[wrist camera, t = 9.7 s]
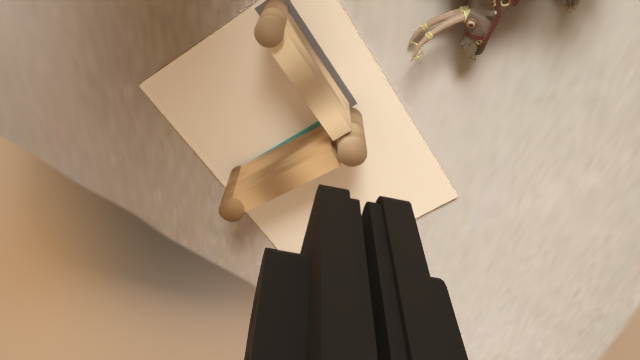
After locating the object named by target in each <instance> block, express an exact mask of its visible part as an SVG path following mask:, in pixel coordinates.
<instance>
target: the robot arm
mask: <svg viewBox="0 0 640 360" xmlns="http://www.w3.org/2000/svg"><path fill="white" fill-rule="evenodd" d="M244 360H468V358H467V354H466V351H465V347H464V344H463V341H462V337H461V334H460V330H459V327H458V324H457V320H456V317H455V314H454V310H453V307H452V303H451V300H450V297H449V293H448V290H447V287H446V285H445V283H444V281H443V280H441V279H440V278H434V277H430V274H429V270H428V266H427V262H426V258H425V255H424V251H423V247H422V243H421V239H420V236H419V232H418V228H417V224H416V220H415V217H414V213H413V209H412V205H411V203H410V202H409V201H405V200H399V199H394V198H389V197H384V196H379V197H378V199H377V200H376V203H374V202H368V201H367V202H366V204H365V206H364V209H363V212H362V215H361V208H360V201H359V200H358V199H353V198H350V191H349V190H348V189H342V188H337V187H332V186H327V185H322V184H319V186H318V188H317V191H316V195H315V198H314V202H313V206H312V210H311V214H310V217H309V221H308V225H307V229H306V233H305V237H304V240H303V244H302V248H301V252H300V254H299V253H293V252H288V251H282V250H276V249H271V248H265V251H264V255H263V259H262V264H261V268H260V273H259V277H258V282H257V287H256V292H255V297H254V302H253V308H252V314H251V319H250V325H249V332H248V339H247V345H246V352H245V359H244Z"/></svg>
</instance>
